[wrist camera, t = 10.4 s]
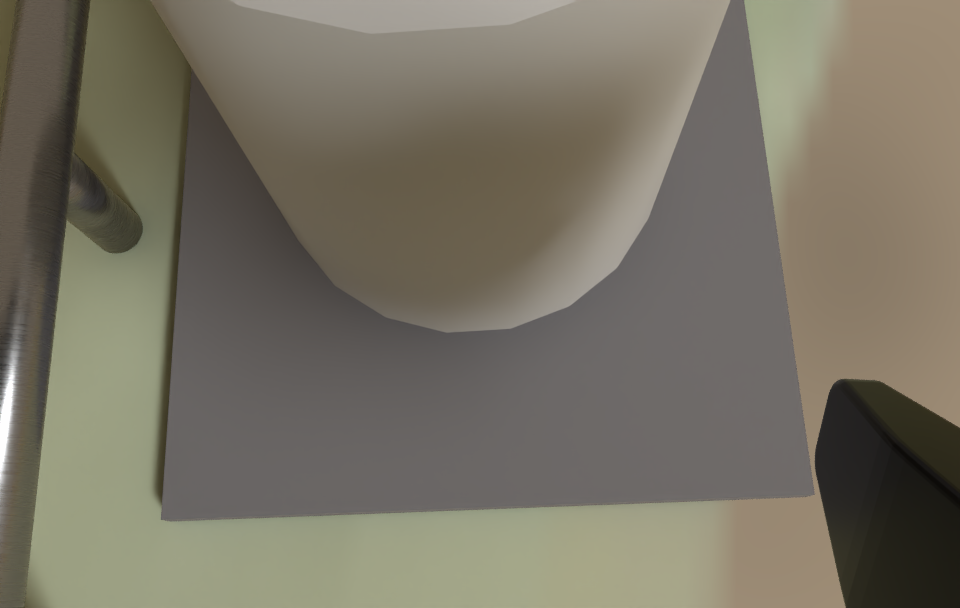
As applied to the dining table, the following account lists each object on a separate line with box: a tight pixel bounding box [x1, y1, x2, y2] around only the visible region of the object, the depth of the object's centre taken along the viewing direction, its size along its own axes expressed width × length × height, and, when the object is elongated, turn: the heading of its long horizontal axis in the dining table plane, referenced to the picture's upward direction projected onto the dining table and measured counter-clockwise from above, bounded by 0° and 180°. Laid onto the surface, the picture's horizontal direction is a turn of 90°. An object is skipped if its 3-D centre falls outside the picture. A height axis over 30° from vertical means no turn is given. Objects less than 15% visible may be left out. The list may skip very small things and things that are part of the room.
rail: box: [0, 0, 143, 608], centre depth 17 cm, size 20×13×4 cm, turn 2°
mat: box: [161, 0, 814, 521], centre depth 19 cm, size 14×12×1 cm
